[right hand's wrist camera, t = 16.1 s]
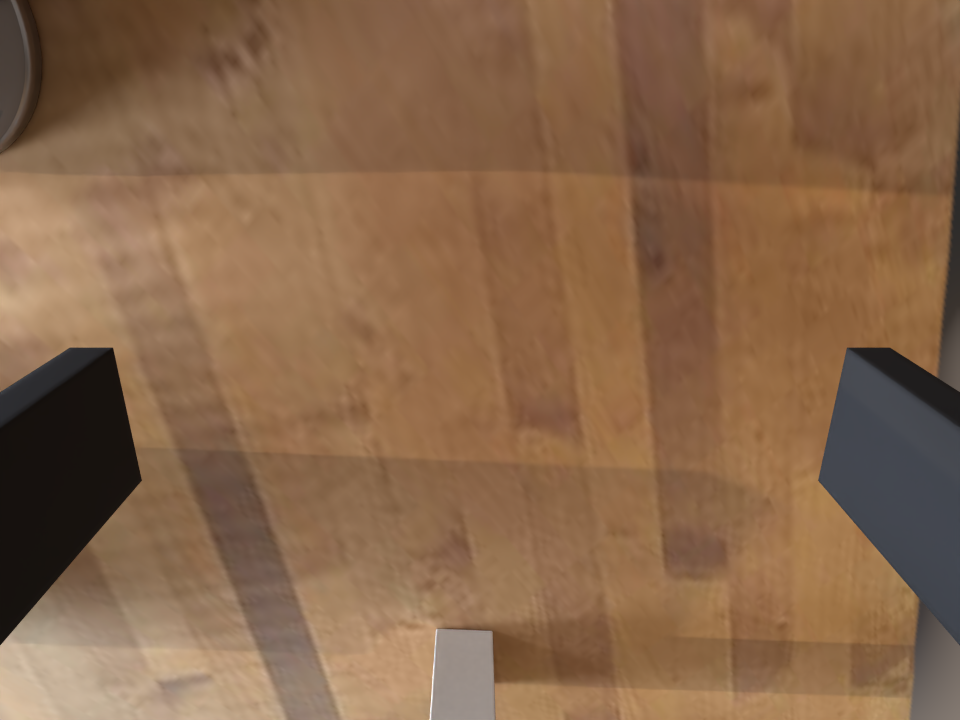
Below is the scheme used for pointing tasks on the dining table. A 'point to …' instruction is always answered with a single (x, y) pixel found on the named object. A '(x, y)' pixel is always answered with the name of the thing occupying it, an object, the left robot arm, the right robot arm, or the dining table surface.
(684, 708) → the dining table surface
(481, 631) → the block
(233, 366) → the dining table surface
